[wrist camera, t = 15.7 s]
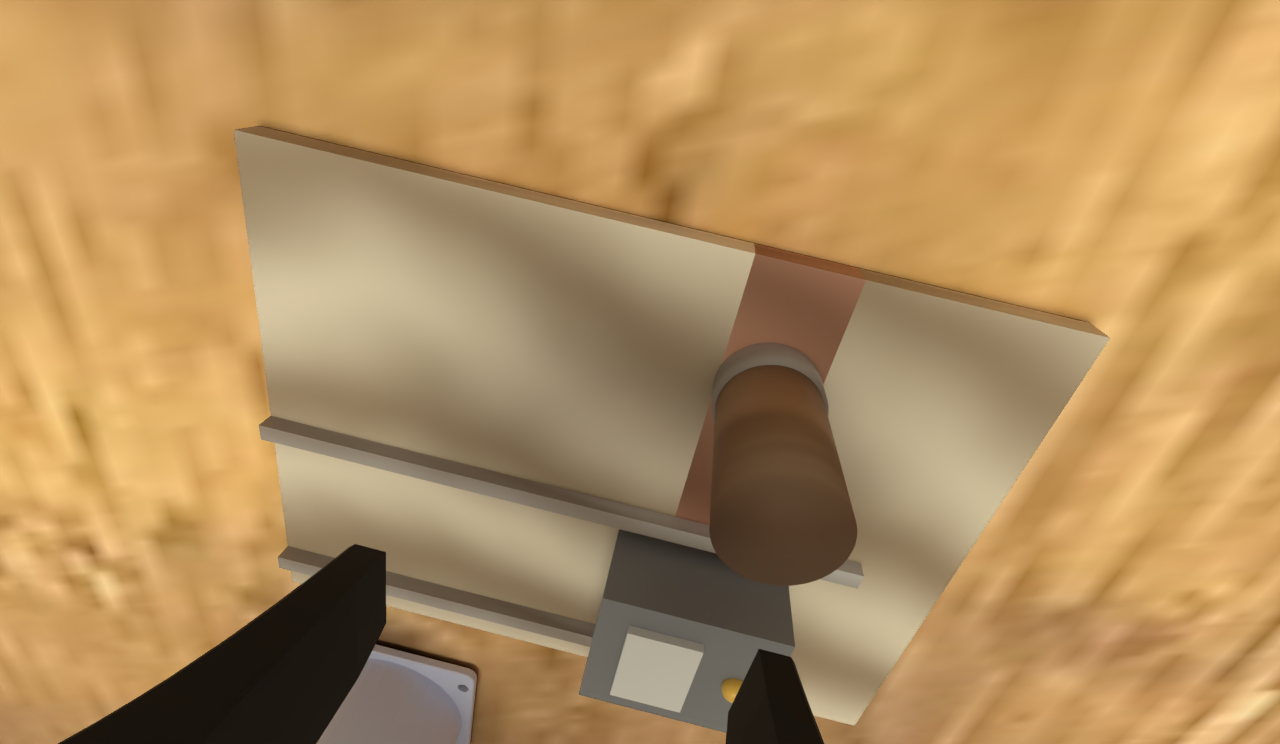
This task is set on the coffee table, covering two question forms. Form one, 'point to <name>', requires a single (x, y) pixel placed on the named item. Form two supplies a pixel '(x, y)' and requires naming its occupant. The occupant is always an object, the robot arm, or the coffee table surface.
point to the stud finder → (680, 631)
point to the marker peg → (776, 470)
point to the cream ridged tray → (609, 398)
